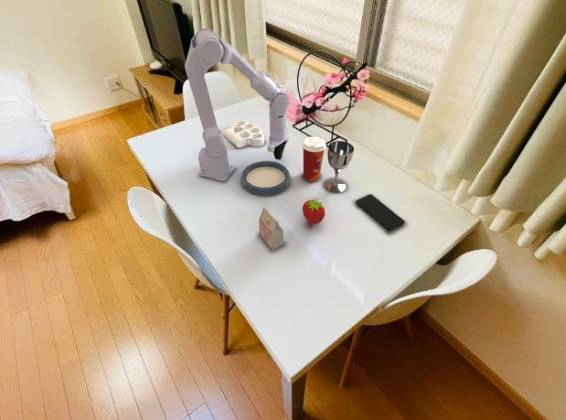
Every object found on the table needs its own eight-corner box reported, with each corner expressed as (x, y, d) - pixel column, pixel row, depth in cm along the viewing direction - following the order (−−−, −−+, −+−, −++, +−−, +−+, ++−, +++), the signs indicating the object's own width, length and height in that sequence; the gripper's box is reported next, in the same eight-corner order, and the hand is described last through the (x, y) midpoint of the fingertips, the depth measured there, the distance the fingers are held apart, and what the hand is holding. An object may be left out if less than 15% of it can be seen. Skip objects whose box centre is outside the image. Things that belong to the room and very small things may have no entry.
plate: (234, 189, 101) (233, 182, 100) (254, 163, 112) (254, 157, 110) (278, 200, 98) (278, 194, 96) (295, 172, 108) (295, 166, 107)
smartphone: (370, 193, 100) (406, 221, 90) (370, 195, 100) (405, 223, 91) (354, 200, 97) (389, 230, 88) (354, 202, 97) (388, 232, 88)
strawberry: (313, 212, 94) (315, 187, 87) (327, 228, 89) (331, 203, 82) (297, 219, 92) (298, 194, 85) (311, 235, 87) (313, 210, 80)
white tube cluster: (219, 133, 127) (248, 123, 133) (241, 153, 117) (272, 141, 123) (217, 126, 125) (248, 116, 131) (240, 145, 114) (272, 134, 121)
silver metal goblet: (351, 185, 104) (359, 147, 93) (337, 196, 99) (344, 158, 89) (332, 175, 108) (338, 138, 97) (318, 185, 103) (322, 147, 93)
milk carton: (270, 229, 89) (270, 204, 82) (283, 244, 84) (283, 219, 78) (259, 234, 87) (258, 209, 80) (271, 250, 83) (271, 225, 76)
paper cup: (320, 184, 104) (324, 149, 94) (298, 181, 105) (300, 146, 95) (323, 171, 109) (327, 136, 100) (302, 168, 110) (304, 134, 101)
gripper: (281, 137, 96) (281, 172, 106) (296, 117, 106) (295, 150, 116) (261, 133, 98) (262, 167, 108) (277, 113, 108) (277, 146, 117)
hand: (278, 158), depth 112 cm, fingers closed
